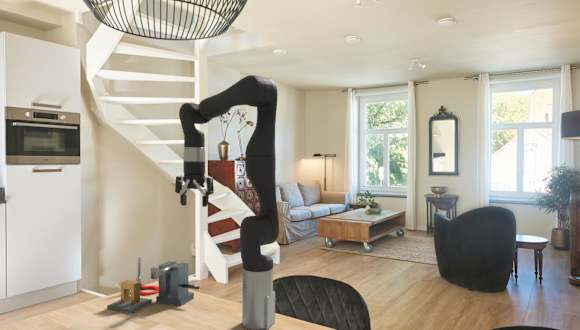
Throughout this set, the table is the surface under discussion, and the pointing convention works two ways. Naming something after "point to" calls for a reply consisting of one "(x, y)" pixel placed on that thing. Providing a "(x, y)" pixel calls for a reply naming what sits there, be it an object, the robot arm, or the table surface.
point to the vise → (173, 283)
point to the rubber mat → (129, 305)
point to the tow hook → (143, 284)
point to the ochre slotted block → (135, 291)
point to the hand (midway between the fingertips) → (194, 205)
